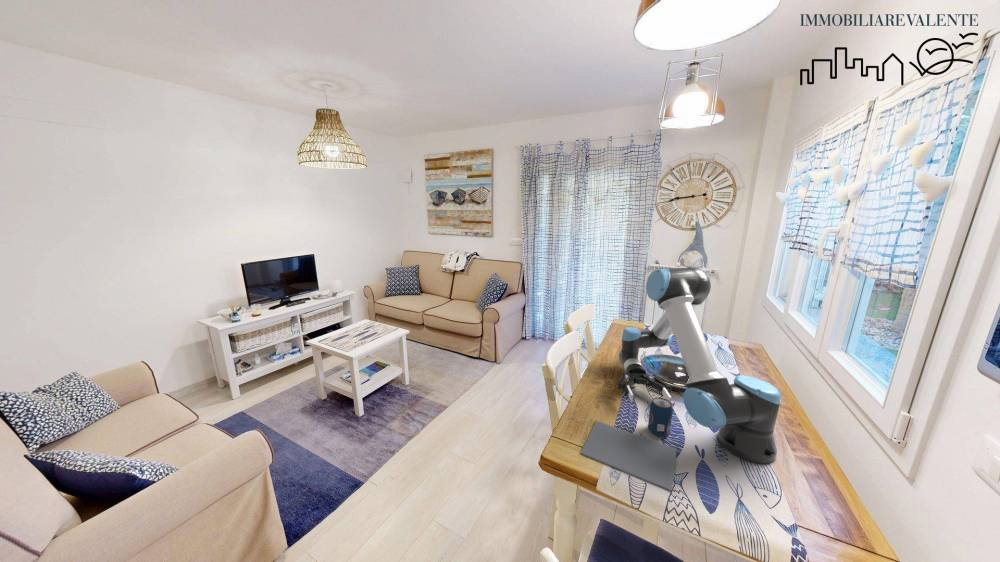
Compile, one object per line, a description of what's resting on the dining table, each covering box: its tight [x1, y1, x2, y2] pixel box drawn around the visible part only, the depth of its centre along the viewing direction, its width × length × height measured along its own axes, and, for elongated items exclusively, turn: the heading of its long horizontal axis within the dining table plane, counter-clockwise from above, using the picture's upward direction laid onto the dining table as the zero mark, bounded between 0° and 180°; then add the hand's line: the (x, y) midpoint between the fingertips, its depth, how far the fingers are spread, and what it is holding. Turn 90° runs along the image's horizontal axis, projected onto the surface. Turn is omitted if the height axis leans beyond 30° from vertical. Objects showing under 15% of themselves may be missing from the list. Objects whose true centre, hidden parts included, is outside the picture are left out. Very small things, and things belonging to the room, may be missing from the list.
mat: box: [580, 420, 678, 492], centre depth 101 cm, size 26×18×1 cm
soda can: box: [647, 396, 674, 439], centre depth 108 cm, size 7×7×12 cm
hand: (650, 399), depth 117 cm, fingers open, 13 cm apart
